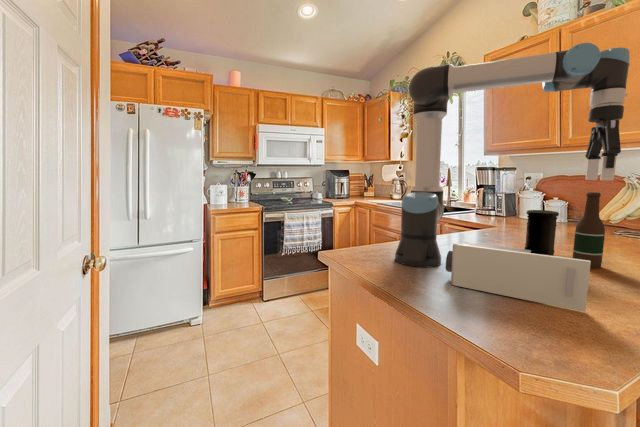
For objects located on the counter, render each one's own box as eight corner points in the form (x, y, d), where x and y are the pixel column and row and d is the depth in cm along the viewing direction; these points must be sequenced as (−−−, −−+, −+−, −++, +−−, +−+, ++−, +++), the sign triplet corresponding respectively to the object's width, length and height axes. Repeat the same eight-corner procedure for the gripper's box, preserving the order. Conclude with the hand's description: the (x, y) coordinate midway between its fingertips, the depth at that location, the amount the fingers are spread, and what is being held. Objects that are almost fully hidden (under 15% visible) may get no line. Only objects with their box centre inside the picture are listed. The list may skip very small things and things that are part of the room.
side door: (585, 310, 67) (590, 260, 66) (585, 313, 65) (591, 263, 64) (451, 283, 84) (453, 243, 83) (449, 285, 82) (451, 245, 81)
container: (543, 262, 106) (548, 209, 104) (561, 269, 97) (566, 212, 95) (516, 261, 107) (519, 209, 105) (530, 269, 98) (535, 212, 96)
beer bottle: (595, 270, 96) (603, 193, 93) (566, 264, 103) (573, 192, 100) (606, 267, 100) (615, 192, 97) (577, 261, 107) (584, 191, 104)
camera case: (528, 287, 82) (531, 250, 81) (524, 299, 74) (527, 258, 73) (452, 273, 94) (454, 241, 92) (442, 282, 86) (444, 247, 84)
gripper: (644, 95, 77) (633, 180, 80) (607, 113, 99) (600, 180, 102) (604, 98, 81) (596, 180, 83) (577, 115, 103) (571, 179, 105)
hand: (598, 180), depth 92 cm, fingers open, 13 cm apart
